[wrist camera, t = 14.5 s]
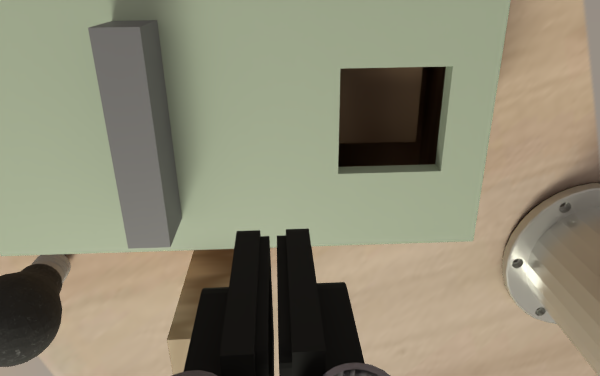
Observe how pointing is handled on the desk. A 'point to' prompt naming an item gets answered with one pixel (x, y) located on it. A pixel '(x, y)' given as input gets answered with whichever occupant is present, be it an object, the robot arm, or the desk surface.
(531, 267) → the robot arm
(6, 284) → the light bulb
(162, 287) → the desk surface
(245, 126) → the lid
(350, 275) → the desk surface
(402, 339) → the desk surface
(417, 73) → the brown wooden box
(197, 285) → the block
